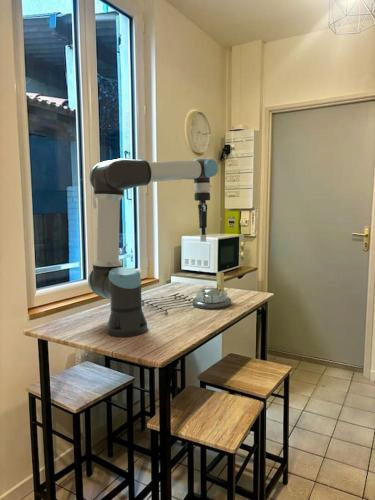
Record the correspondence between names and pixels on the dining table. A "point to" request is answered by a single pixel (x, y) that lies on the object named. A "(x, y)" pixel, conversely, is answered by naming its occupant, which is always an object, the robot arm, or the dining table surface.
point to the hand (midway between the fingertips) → (203, 241)
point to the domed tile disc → (218, 298)
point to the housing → (212, 305)
